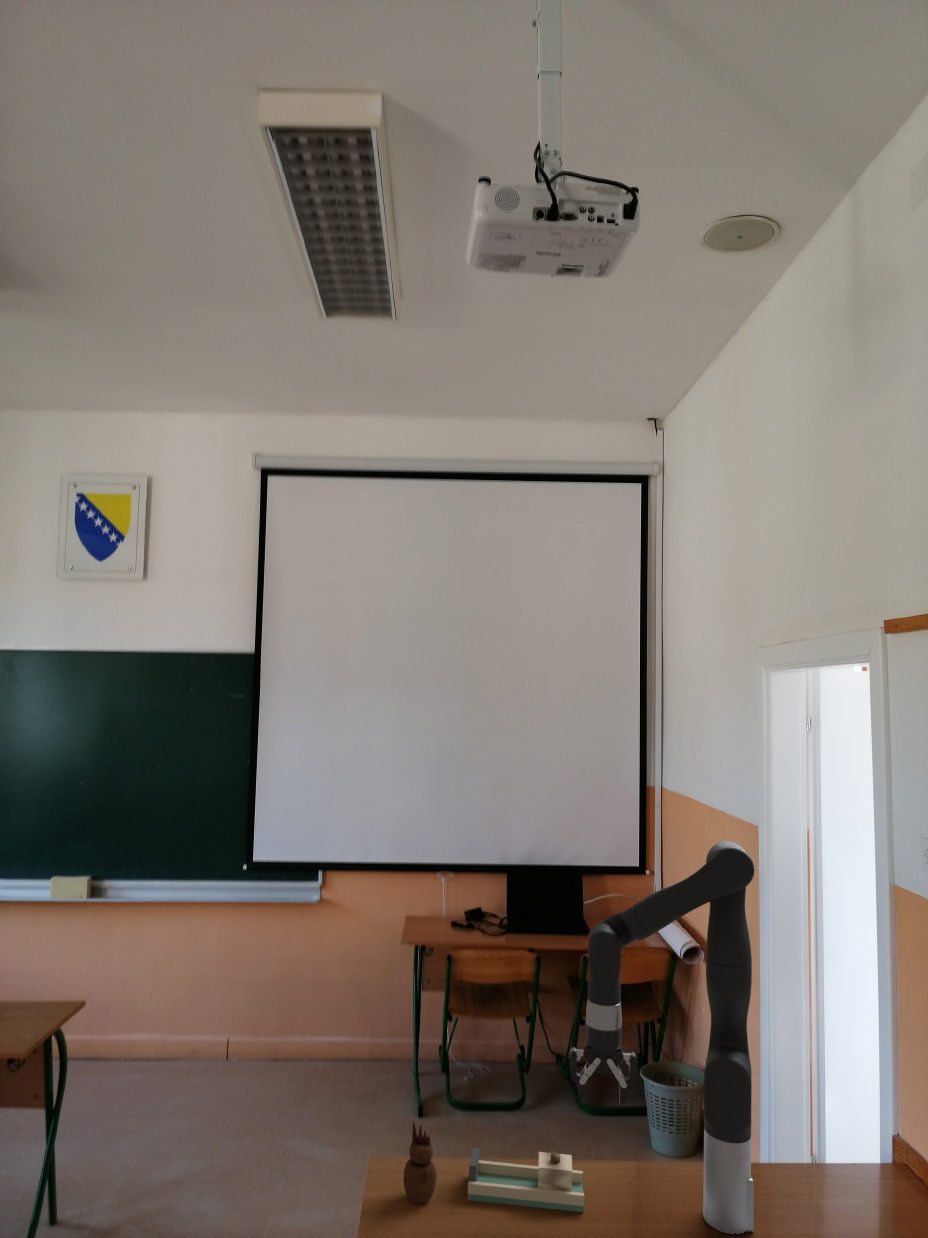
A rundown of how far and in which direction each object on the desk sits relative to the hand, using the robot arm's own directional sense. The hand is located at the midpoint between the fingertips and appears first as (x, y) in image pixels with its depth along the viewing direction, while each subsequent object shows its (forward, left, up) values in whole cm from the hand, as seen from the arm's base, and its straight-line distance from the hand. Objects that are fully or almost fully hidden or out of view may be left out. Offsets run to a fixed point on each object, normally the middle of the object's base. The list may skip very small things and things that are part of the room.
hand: (602, 1102), depth 174 cm
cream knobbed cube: (+10, 0, -18) cm, 21 cm away
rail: (+16, 0, -20) cm, 25 cm away
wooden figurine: (+38, +6, -20) cm, 43 cm away
